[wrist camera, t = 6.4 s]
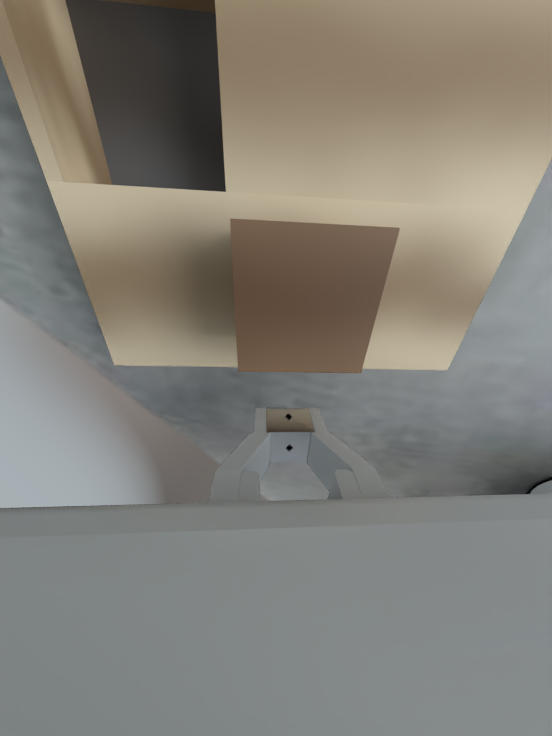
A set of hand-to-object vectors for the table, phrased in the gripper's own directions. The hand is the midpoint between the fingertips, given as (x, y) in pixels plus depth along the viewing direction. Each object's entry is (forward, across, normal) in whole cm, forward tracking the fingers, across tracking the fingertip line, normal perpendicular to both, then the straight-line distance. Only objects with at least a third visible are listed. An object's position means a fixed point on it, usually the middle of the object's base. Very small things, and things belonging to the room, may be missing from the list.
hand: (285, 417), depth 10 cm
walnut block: (+1, 0, -6) cm, 6 cm away
